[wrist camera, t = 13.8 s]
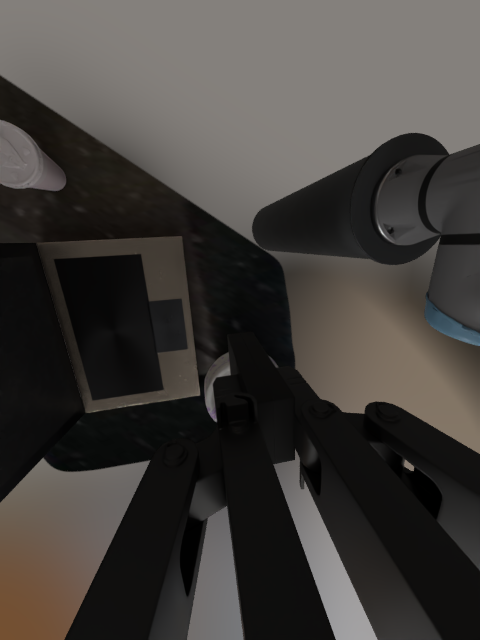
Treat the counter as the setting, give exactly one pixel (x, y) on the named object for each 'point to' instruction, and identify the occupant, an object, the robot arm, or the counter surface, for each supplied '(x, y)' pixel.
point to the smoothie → (26, 162)
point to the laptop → (124, 318)
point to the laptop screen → (30, 367)
